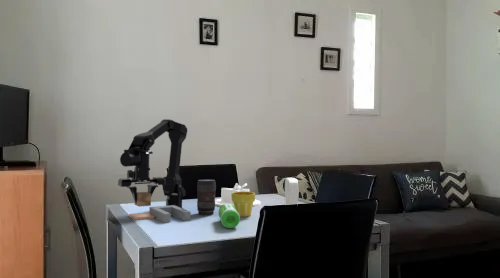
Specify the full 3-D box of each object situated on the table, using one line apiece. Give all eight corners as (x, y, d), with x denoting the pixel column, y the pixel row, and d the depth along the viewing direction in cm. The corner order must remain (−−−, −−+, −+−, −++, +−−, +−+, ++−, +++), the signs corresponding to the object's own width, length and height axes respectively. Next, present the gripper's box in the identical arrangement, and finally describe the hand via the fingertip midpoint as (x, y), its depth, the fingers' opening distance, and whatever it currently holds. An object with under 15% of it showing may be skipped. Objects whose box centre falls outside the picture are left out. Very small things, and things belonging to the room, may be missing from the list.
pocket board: (173, 213, 201) (174, 205, 201) (190, 220, 186) (190, 211, 186) (149, 215, 196) (149, 207, 196) (164, 222, 180) (164, 213, 180)
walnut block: (146, 203, 194) (146, 191, 194) (150, 205, 189) (150, 193, 189) (134, 204, 191) (134, 192, 191) (138, 206, 186) (139, 194, 186)
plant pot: (227, 216, 196) (227, 193, 196) (236, 212, 206) (236, 190, 205) (250, 218, 192) (250, 195, 192) (257, 214, 202) (258, 192, 202)
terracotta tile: (147, 214, 197) (147, 212, 197) (154, 218, 189) (154, 215, 189) (128, 216, 192) (129, 213, 192) (135, 220, 185) (135, 217, 185)
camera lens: (218, 213, 203) (219, 179, 202) (209, 216, 195) (209, 181, 195) (202, 211, 206) (203, 178, 206) (193, 214, 199) (193, 180, 198)
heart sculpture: (300, 227, 176) (300, 180, 176) (287, 227, 176) (287, 180, 176) (294, 219, 192) (295, 176, 192) (282, 219, 192) (283, 176, 191)
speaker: (217, 220, 187) (218, 202, 187) (235, 220, 188) (235, 202, 188) (221, 229, 170) (221, 209, 170) (240, 229, 171) (240, 209, 171)
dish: (269, 203, 235) (269, 181, 234) (243, 210, 213) (243, 186, 213) (229, 199, 248) (230, 178, 247) (201, 205, 226) (201, 182, 226)
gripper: (157, 163, 202) (156, 198, 202) (114, 164, 192) (114, 201, 193) (166, 165, 193) (165, 201, 193) (122, 166, 183) (121, 205, 183)
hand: (141, 202), depth 191 cm, fingers closed on walnut block, 5 cm apart
